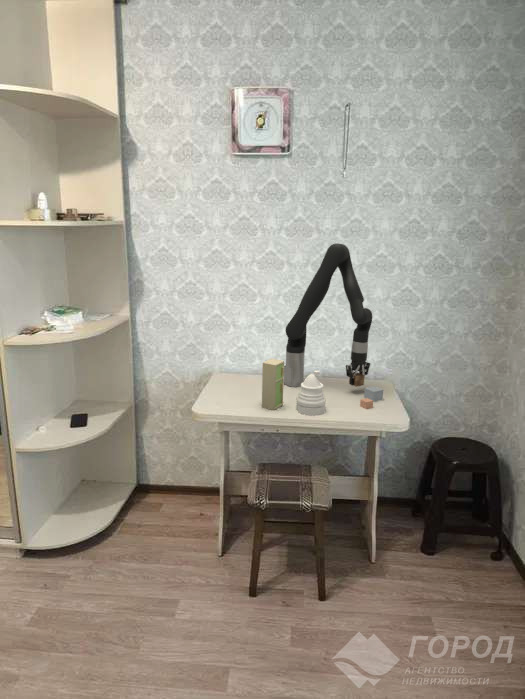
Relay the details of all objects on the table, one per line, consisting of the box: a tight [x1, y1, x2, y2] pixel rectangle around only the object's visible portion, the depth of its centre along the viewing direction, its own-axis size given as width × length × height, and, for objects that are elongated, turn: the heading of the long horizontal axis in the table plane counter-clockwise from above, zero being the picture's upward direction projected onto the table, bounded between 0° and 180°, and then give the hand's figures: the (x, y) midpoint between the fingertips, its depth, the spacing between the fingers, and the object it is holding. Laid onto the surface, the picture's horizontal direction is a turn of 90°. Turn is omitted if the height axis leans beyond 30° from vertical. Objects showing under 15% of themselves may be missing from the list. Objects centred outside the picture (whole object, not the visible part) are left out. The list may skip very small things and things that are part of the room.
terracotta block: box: [359, 398, 374, 410], centre depth 237 cm, size 4×4×4 cm
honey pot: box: [295, 370, 327, 416], centre depth 232 cm, size 13×13×18 cm
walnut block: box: [348, 371, 366, 388], centre depth 255 cm, size 5×5×5 cm
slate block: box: [363, 386, 384, 403], centre depth 247 cm, size 6×6×5 cm
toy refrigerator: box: [261, 358, 285, 411], centre depth 235 cm, size 8×7×21 cm
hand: (356, 384), depth 255 cm, fingers closed on walnut block, 5 cm apart
